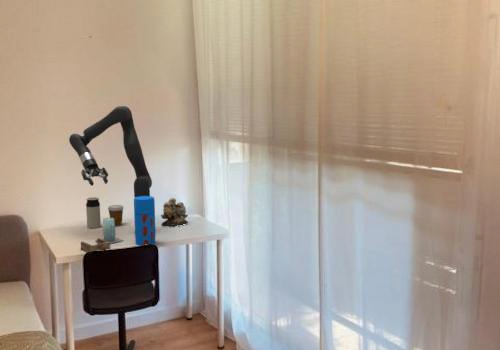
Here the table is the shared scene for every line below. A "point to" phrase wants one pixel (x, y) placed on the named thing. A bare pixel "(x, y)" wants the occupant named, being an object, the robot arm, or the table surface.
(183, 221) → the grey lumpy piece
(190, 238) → the table surface
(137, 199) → the thermos
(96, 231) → the table surface
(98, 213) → the travel mug
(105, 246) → the cradle
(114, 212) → the disposable coffee cup
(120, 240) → the mat
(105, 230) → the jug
